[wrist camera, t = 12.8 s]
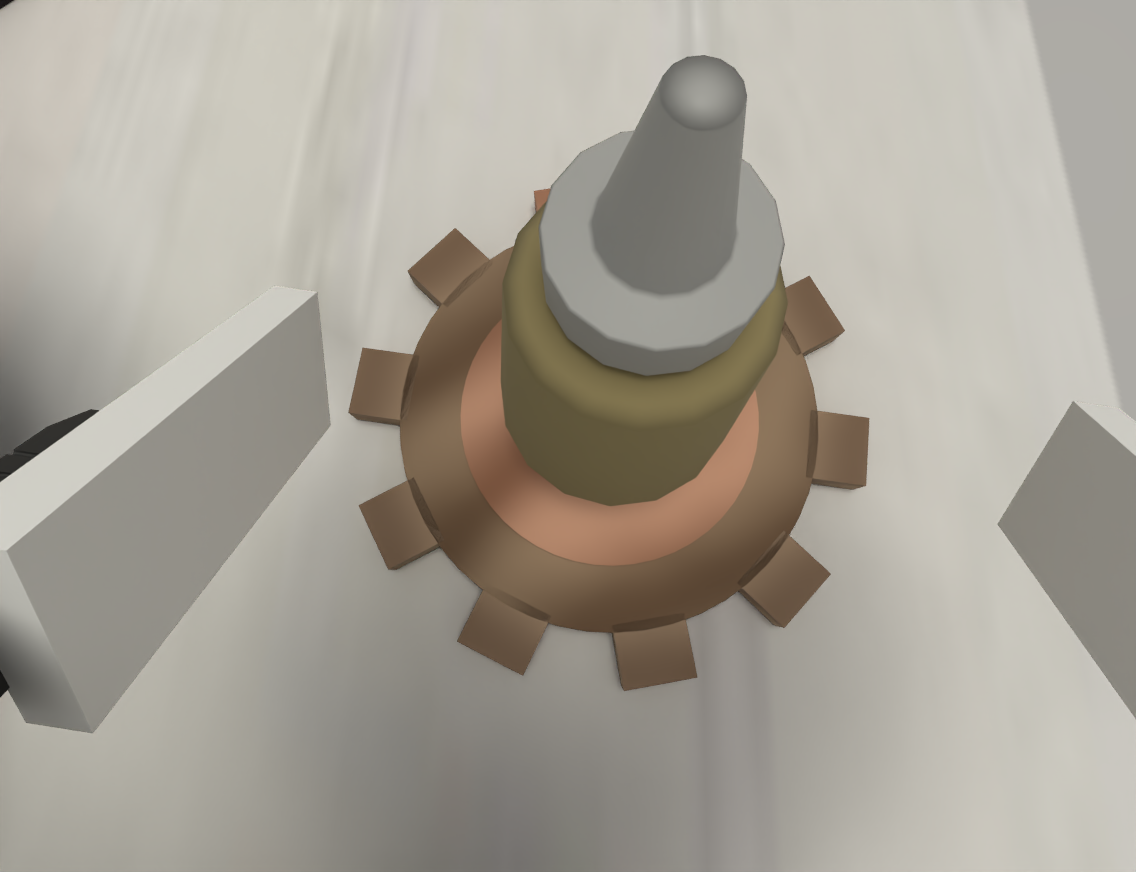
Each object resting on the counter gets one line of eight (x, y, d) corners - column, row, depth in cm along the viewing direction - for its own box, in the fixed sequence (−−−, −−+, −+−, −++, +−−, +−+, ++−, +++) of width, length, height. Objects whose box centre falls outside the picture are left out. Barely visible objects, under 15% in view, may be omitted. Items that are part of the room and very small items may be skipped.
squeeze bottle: (467, 404, 26) (274, 63, 9) (617, 283, 27) (714, -238, 10) (600, 559, 25) (687, 525, 7) (751, 425, 26) (1136, 121, 9)
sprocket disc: (257, 425, 28) (240, 417, 26) (597, 116, 31) (599, 93, 29) (619, 802, 25) (623, 817, 23) (953, 418, 28) (975, 410, 26)
